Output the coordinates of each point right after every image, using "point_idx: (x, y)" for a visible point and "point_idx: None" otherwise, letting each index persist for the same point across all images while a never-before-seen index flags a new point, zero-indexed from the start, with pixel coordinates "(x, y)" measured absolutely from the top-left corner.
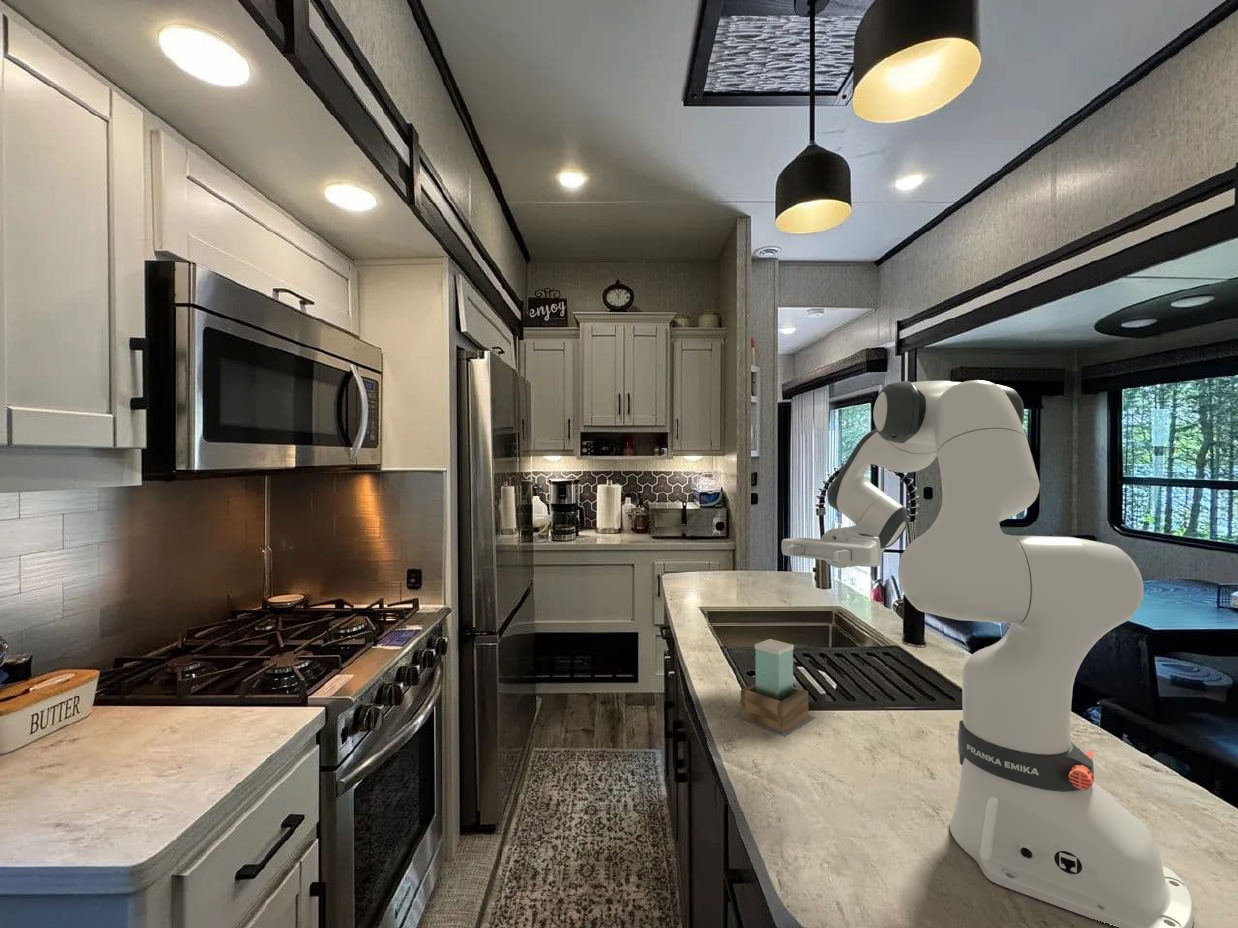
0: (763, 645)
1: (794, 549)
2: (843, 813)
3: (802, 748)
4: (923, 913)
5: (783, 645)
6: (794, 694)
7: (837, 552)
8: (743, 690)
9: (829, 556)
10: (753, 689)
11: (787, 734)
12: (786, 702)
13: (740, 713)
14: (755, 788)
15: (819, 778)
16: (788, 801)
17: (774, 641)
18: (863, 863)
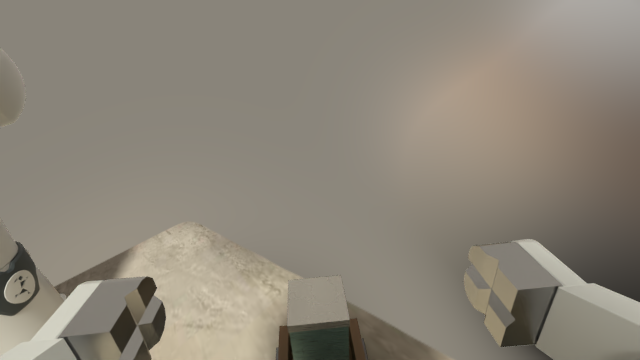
0: (326, 281)
1: (480, 265)
2: (177, 288)
3: (248, 350)
4: (123, 253)
5: (300, 308)
6: None
7: (65, 304)
8: (352, 320)
9: (153, 298)
10: (352, 342)
11: (277, 355)
12: (279, 336)
13: (365, 353)
14: (253, 265)
15: (209, 313)
16: (223, 270)
17: (330, 314)
18: (158, 259)
